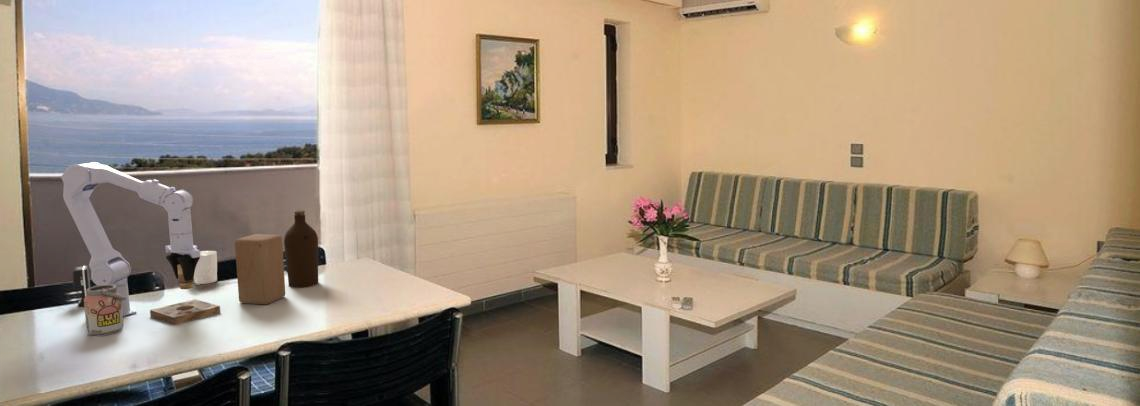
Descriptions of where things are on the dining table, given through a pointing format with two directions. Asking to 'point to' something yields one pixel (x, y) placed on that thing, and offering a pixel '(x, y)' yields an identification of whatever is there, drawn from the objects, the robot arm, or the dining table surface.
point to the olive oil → (301, 253)
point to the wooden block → (260, 268)
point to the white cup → (206, 268)
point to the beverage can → (103, 310)
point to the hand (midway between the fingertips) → (184, 279)
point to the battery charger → (81, 281)
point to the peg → (181, 280)
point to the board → (184, 311)
